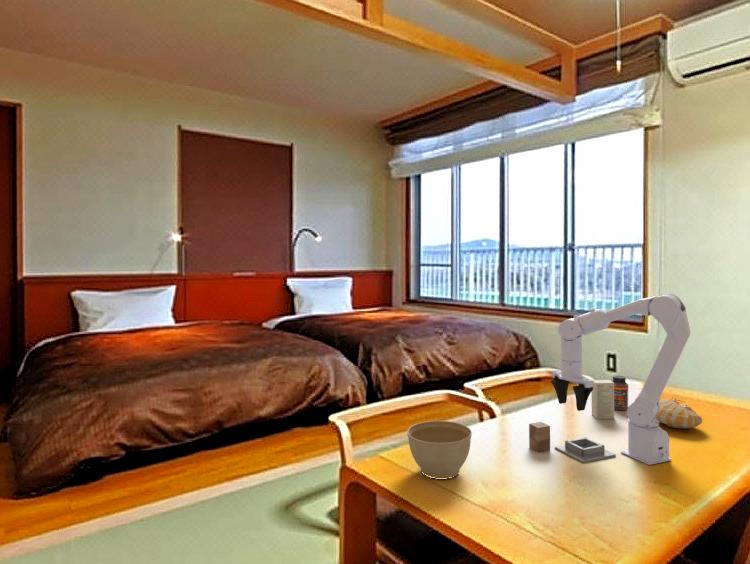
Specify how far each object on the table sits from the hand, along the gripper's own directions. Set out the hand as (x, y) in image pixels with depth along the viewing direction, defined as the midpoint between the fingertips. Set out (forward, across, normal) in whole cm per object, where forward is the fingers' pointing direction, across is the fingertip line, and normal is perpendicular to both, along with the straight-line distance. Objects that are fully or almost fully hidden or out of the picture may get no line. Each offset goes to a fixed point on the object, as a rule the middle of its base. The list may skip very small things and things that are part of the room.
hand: (571, 406), depth 152 cm
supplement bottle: (+11, -19, +37) cm, 43 cm away
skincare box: (+11, -14, +25) cm, 31 cm away
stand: (+10, +8, -2) cm, 13 cm away
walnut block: (+10, +1, -12) cm, 16 cm away
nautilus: (+11, +1, +41) cm, 42 cm away
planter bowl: (+11, +4, -45) cm, 46 cm away
